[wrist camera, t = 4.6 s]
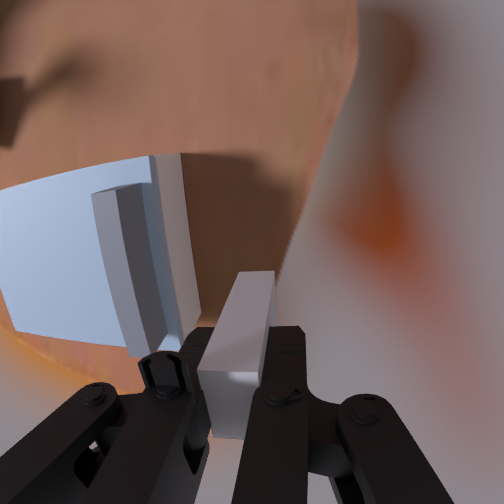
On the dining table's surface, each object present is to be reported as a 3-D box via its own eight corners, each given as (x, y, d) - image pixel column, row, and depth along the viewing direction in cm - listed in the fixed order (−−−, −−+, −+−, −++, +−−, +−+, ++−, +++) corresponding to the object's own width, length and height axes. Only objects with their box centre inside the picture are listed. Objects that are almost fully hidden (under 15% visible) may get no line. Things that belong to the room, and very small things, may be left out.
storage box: (47, 305, 28) (22, 325, 24) (19, 186, 24) (-13, 194, 20) (201, 312, 26) (186, 342, 22) (180, 152, 22) (156, 154, 18)
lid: (20, 326, 24) (-3, 346, 20) (-15, 195, 20) (-45, 204, 16) (184, 344, 22) (167, 378, 18) (154, 155, 18) (123, 158, 14)
